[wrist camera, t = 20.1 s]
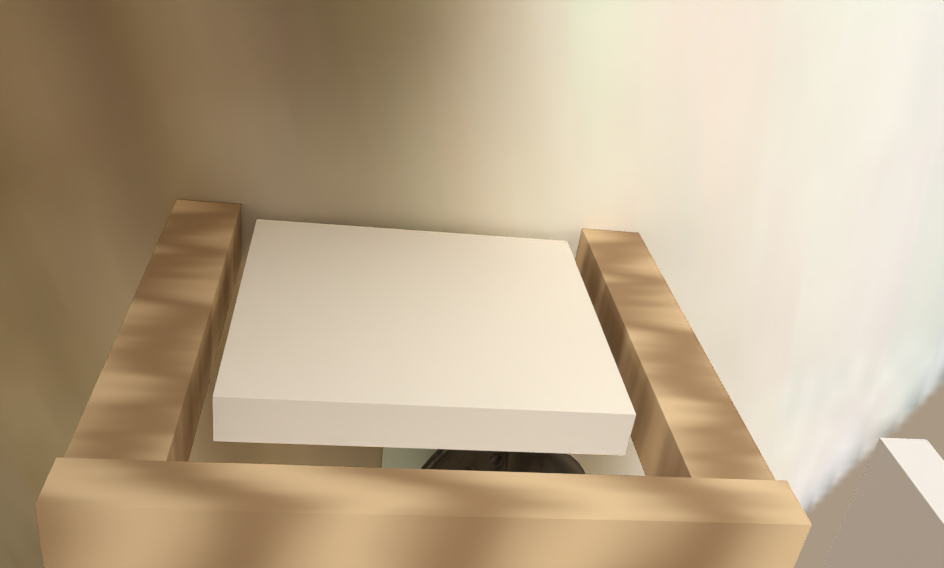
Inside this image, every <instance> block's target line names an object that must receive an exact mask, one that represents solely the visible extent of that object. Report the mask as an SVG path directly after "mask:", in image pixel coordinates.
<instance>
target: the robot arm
mask: <svg viewBox="0 0 944 568" xmlns="http://www.w3.org/2000/svg"><path fill="white" fill-rule="evenodd" d="M822 568H944V461H943V459H942V458H941V457H940V456H939V455H938V453H937V452H936V451H935V449H934V448H933V447H932V446H931V445H930V443H929V442H928V441H927V440H923V439H897V438H880V439H879V441H878V443H877V445H876V448H875V450H874V452H873V454H872V457H871V459H870V461H869V463H868V465H867V468H866V470H865V472H864V474H863V477H862V479H861V481H860V483H859V486H858V488H857V490H856V492H855V495H854V497H853V499H852V501H851V504H850V506H849V508H848V510H847V512H846V515H845V517H844V519H843V521H842V523H841V526H840V528H839V530H838V532H837V535H836V537H835V539H834V541H833V543H832V546H831V548H830V550H829V552H828V555H827V557H826V559H825V561H824V564H823V566H822Z"/></svg>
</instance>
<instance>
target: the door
mask: <svg viewBox="0 0 944 568" xmlns="http://www.w3.org/2000/svg"><path fill="white" fill-rule="evenodd" d="M635 417H636V413H635V410H634V408H633V405H632V403H631V400H630V398H629V395H628V393H627V390H626V388H625V385H624V383H623V380H622V378H621V375H620V373H619V370H618V368H617V365H616V363H615V360H614V358H613V355H612V353H611V350H610V348H609V345H608V343H607V340H606V338H605V335H604V333H603V330H602V328H601V325H600V322H599V320H598V317H597V315H596V312H595V310H594V307H593V305H592V302H591V300H590V297H589V295H588V292H587V290H586V287H585V285H584V282H583V280H582V277H581V275H580V272H579V270H578V267H577V265H576V262H575V260H574V257H573V255H572V252H571V250H570V247H569V245H568V242H567V241H561V240H547V239H532V238H518V237H504V236H490V235H475V234H461V233H447V232H433V231H418V230H404V229H390V228H376V227H361V226H347V225H333V224H319V223H304V222H290V221H276V220H262V219H257V220H256V224H255V228H254V232H253V236H252V240H251V244H250V248H249V252H248V256H247V260H246V264H245V268H244V272H243V276H242V280H241V284H240V288H239V292H238V296H237V300H236V304H235V308H234V313H233V317H232V321H231V325H230V329H229V333H228V337H227V341H226V345H225V349H224V353H223V357H222V361H221V365H220V369H219V373H218V377H217V381H216V385H215V389H214V393H213V441H223V442H252V443H280V444H309V445H337V446H366V447H394V448H423V449H451V450H479V451H508V452H536V453H565V454H593V455H622V456H625V454H626V450H627V446H628V443H629V439H630V435H631V432H632V428H633V424H634V421H635Z"/></svg>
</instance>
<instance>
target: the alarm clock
mask: <svg viewBox="0 0 944 568" xmlns="http://www.w3.org/2000/svg"><path fill="white" fill-rule="evenodd" d="M421 469H434V470H466V471H497V472H529V473H560V474H585V472H584V470H583V468H582V467H581V466H580V464H579V463H578V462H577V461H576V460H575V459H574V458H573V457H572V456H570V455H568V454H565V453H536V452H508V451H479V450H451V449H438V450H437V451H436V452H435V453H434V454H433V455H432V456H431V457H430V458H429V459H428V460H427V462H426V463H425V464H424V465H423V466H422V468H421Z"/></svg>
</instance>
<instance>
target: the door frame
mask: <svg viewBox="0 0 944 568" xmlns="http://www.w3.org/2000/svg"><path fill="white" fill-rule="evenodd" d="M240 260H241V204H233V203H219V202H205V201H191V200H176V202H175V205H174V207H173V209H172V211H171V214H170V216H169V218H168V221H167V223H166V225H165V227H164V230H163V232H162V234H161V237H160V239H159V241H158V243H157V246H156V248H155V250H154V253H153V255H152V257H151V259H150V262H149V264H148V266H147V268H146V271H145V273H144V275H143V278H142V280H141V282H140V284H139V287H138V289H137V291H136V294H135V296H134V298H133V300H132V303H131V305H130V307H129V310H128V312H127V314H126V316H125V319H124V321H123V323H122V326H121V328H120V330H119V332H118V335H117V337H116V339H115V342H114V344H113V346H112V348H111V351H110V353H109V355H108V357H107V360H106V362H105V364H104V367H103V369H102V371H101V373H100V376H99V378H98V380H97V383H96V385H95V387H94V389H93V392H92V394H91V396H90V399H89V401H88V403H87V405H86V408H85V410H84V412H83V415H82V417H81V419H80V421H79V424H78V426H77V428H76V431H75V433H74V435H73V437H72V440H71V442H70V444H69V446H68V449H67V451H66V453H65V456H64V458H57V457H56V459H55V462H54V464H53V466H52V468H51V471H50V473H49V475H48V477H47V479H46V482H45V484H44V486H43V488H42V491H41V493H40V495H39V497H38V499H37V502H36V504H35V512H36V519H37V525H38V532H39V538H40V545H41V551H42V558H43V564H44V568H794V565H795V563H796V560H797V558H798V556H799V554H800V551H801V549H802V546H803V544H804V542H805V539H806V537H807V535H808V532H809V530H810V527H811V523H810V521H809V519H808V518H807V516H806V514H805V512H804V510H803V509H802V507H801V505H800V503H799V502H798V500H797V498H796V496H795V495H794V493H793V491H792V489H791V488H790V486H789V484H788V482H787V481H780V480H775V478H774V476H773V475H772V473H771V471H770V469H769V467H768V466H767V464H766V462H765V460H764V458H763V456H762V455H761V453H760V451H759V449H758V447H757V446H756V444H755V442H754V440H753V438H752V437H751V435H750V433H749V431H748V429H747V428H746V426H745V424H744V422H743V420H742V419H741V417H740V415H739V413H738V411H737V410H736V408H735V406H734V404H733V402H732V401H731V399H730V397H729V395H728V393H727V391H726V390H725V388H724V386H723V384H722V382H721V381H720V379H719V377H718V375H717V373H716V372H715V370H714V368H713V366H712V364H711V363H710V361H709V359H708V357H707V355H706V354H705V352H704V350H703V348H702V346H701V345H700V343H699V341H698V339H697V337H696V335H695V334H694V332H693V330H692V328H691V326H690V325H689V323H688V321H687V319H686V317H685V316H684V314H683V312H682V310H681V308H680V307H679V305H678V303H677V301H676V299H675V298H674V296H673V294H672V292H671V290H670V289H669V287H668V285H667V283H666V281H665V279H664V278H663V276H662V274H661V272H660V270H659V269H658V267H657V265H656V263H655V261H654V260H653V258H652V256H651V254H650V252H649V251H648V249H647V247H646V245H645V243H644V242H643V240H642V238H641V236H640V234H639V233H633V232H620V231H606V230H592V229H582V232H581V237H580V242H579V247H578V251H577V256H576V261H575V262H576V265H577V267H578V270H579V272H580V275H581V277H582V280H583V282H584V285H585V287H586V290H587V292H588V295H589V297H590V300H591V302H592V305H593V307H594V310H595V312H596V315H597V317H598V320H599V322H600V325H601V328H602V330H603V333H604V335H605V338H606V340H607V343H608V345H609V348H610V350H611V353H612V355H613V358H614V360H615V363H616V365H617V368H618V370H619V373H620V375H621V378H622V380H623V383H624V385H625V388H626V390H627V393H628V395H629V398H630V400H631V403H632V405H633V408H634V410H635V413H636V417H635V421H634V424H633V428H632V432H631V438H632V441H633V443H634V446H635V449H636V451H637V454H638V457H639V459H640V462H641V465H642V467H643V470H644V473H645V475H646V476H623V475H592V474H560V473H529V472H497V471H466V470H434V469H403V468H372V467H340V466H309V465H277V464H246V463H214V462H188V460H189V456H190V453H191V449H192V445H193V441H194V437H195V433H196V430H197V426H198V422H199V418H200V414H201V410H202V407H203V403H204V399H205V395H206V391H207V387H208V383H209V380H210V376H211V372H212V368H213V364H214V360H215V357H216V353H217V349H218V345H219V341H220V337H221V333H222V330H223V326H224V322H225V318H226V314H227V310H228V307H229V303H230V299H231V295H232V291H233V287H234V283H235V280H236V276H237V272H238V268H239V264H240Z"/></svg>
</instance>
